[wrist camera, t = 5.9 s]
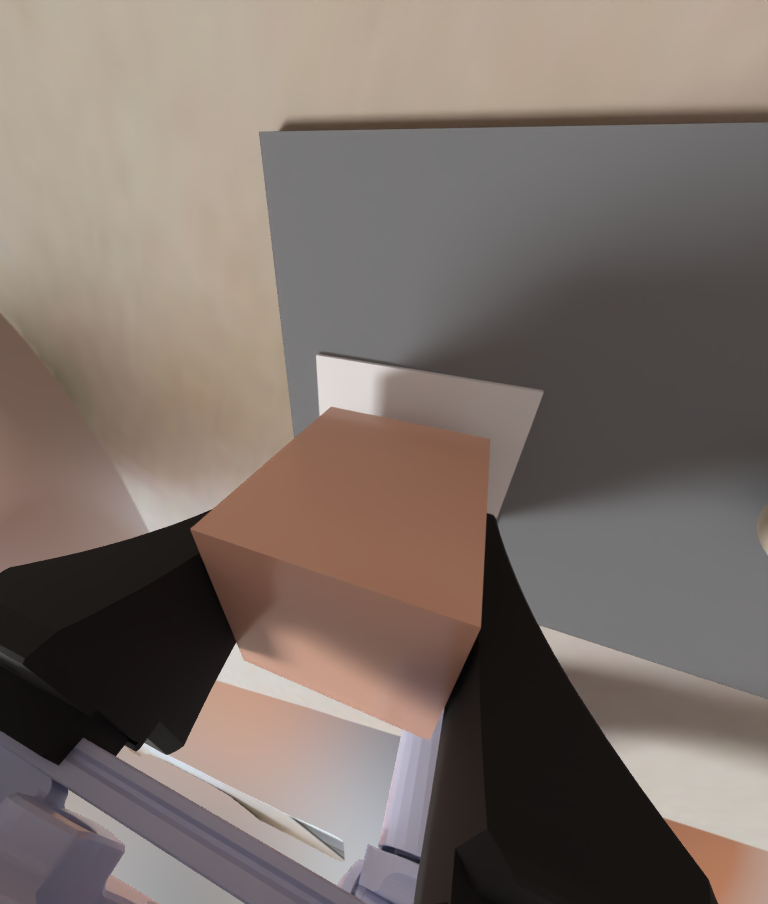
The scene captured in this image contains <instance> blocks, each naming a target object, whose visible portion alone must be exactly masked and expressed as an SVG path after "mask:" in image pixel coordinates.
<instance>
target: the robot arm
mask: <svg viewBox="0 0 768 904" xmlns="http://www.w3.org/2000/svg"><path fill="white" fill-rule="evenodd" d="M212 510H213V509H212ZM210 511H211V510H209V511H207V512H205V513H202V514H200V515H197V516H195V517H192V518H190V519H187V520H184V521H182V522H179V523H177V524H174V525H171V526H168V527H165V528H162V529H159V530H156V531H153V532H150V533H147V534H144V535H141V536H138V537H134V538H132V539H128V540H125V541H121V542H117V543H114V544H110V545H107V546H103V547H99V548H95V549H91V550H88V551H84V552H80V553H75V554H71V555H67V556H62V557H58V558H53V559H48V560H44V561H39V562H34V563H30V564H25V565H20V566H15V567H10V568H8V569H6V570H4V571H2V572H1V573H0V904H159V903H157V902H155V901H154V900H152V899H150V898H149V897H147V896H145V895H144V894H142V893H141V892H139V891H137V890H136V889H134V888H132V887H131V886H129V885H127V884H126V883H124V882H122V881H121V880H119V879H118V878H116V877H114V876H113V875H111V873H112V871H113V870H114V868H115V866H116V865H117V863H118V862H119V860H120V858H121V857H122V855H123V854H124V852H125V845H124V844H123V843H122V842H121V841H120V840H118V839H117V838H116V837H115V836H114V835H113V834H112V833H111V832H110V831H108V830H107V829H105V828H104V827H102V826H100V825H99V824H97V823H95V822H93V821H91V820H89V819H87V818H85V817H82V816H81V815H78V814H76V813H74V812H72V811H69V810H67V809H65V807H64V804H65V800H66V798H67V795H68V789H69V790H70V791H72V792H73V793H75V794H76V795H78V796H79V797H81V798H82V799H84V800H86V801H87V802H89V803H90V804H92V805H93V806H95V807H97V808H98V809H100V810H101V811H103V812H104V813H106V814H107V815H109V816H111V817H112V818H114V819H115V820H117V821H118V822H120V823H121V824H123V825H124V826H126V827H127V828H129V829H130V830H132V831H134V832H135V833H137V834H138V835H140V836H141V837H143V838H145V839H146V840H148V841H149V842H151V843H152V844H154V845H155V846H157V847H158V848H160V849H161V850H163V851H165V852H166V853H168V854H169V855H171V856H172V857H174V858H176V859H177V860H179V861H180V862H182V863H183V864H185V865H186V866H188V867H189V868H191V869H192V870H194V871H195V872H197V873H199V874H200V875H202V876H203V877H205V878H206V879H208V880H209V881H211V882H213V883H214V884H216V885H217V886H219V887H220V888H222V889H223V890H225V891H227V892H228V893H230V894H231V895H233V896H234V897H236V898H237V899H239V900H240V901H242V902H244V903H245V904H718V902H717V900H716V898H715V895H714V893H713V890H712V888H711V885H710V882H709V880H708V878H707V877H706V875H705V874H704V873H703V871H702V870H701V869H700V867H699V866H698V865H697V863H696V862H695V861H694V859H693V858H692V857H691V855H690V854H689V853H688V851H687V850H686V849H685V847H684V846H683V845H682V843H681V842H680V841H679V839H678V838H677V837H676V835H675V834H674V833H673V831H672V830H671V828H670V827H669V826H668V824H667V823H666V822H665V821H664V819H663V818H662V816H661V815H660V814H659V812H658V811H657V809H656V808H655V807H654V805H653V804H652V802H651V801H650V800H649V798H648V797H647V796H646V794H645V793H644V791H643V790H642V789H641V787H640V786H639V785H638V783H637V782H636V780H635V779H634V777H633V776H632V774H631V773H630V772H629V770H628V769H627V767H626V766H625V764H624V763H623V761H622V760H621V759H620V757H619V756H618V754H617V753H616V751H615V750H614V748H613V747H612V746H611V744H610V743H609V741H608V740H607V738H606V737H605V735H604V734H603V732H602V730H601V729H600V727H599V726H598V724H597V723H596V721H595V720H594V718H593V716H592V715H591V713H590V712H589V710H588V709H587V707H586V706H585V704H584V702H583V701H582V699H581V698H580V696H579V695H578V693H577V692H576V690H575V688H574V687H573V685H572V684H571V682H570V680H569V679H568V677H567V675H566V674H565V672H564V670H563V668H562V667H561V665H560V663H559V662H558V660H557V658H556V656H555V655H554V653H553V651H552V649H551V648H550V646H549V644H548V642H547V640H546V638H545V637H544V635H543V633H542V631H541V629H540V627H539V625H538V623H537V621H536V619H535V617H534V615H533V613H532V611H531V609H530V607H529V605H528V603H527V601H526V598H525V596H524V594H523V592H522V590H521V587H520V585H519V583H518V580H517V578H516V575H515V573H514V571H513V568H512V566H511V563H510V561H509V558H508V555H507V553H506V550H505V547H504V544H503V541H502V538H501V535H500V531H499V528H498V524H497V520H496V518H495V516H494V515H492V514H489V513H487V516H486V536H485V556H484V576H483V596H482V616H481V629H480V631H479V633H478V635H477V637H476V640H475V642H474V644H473V646H472V648H471V650H470V653H469V655H468V657H467V659H466V661H465V664H464V666H463V668H462V670H461V672H460V674H459V677H458V679H457V681H456V683H455V685H454V687H453V690H452V692H451V694H450V696H449V698H448V700H447V703H446V705H445V707H444V709H443V711H442V714H441V716H440V718H439V720H438V722H437V724H436V727H435V729H434V731H433V733H432V735H431V737H430V740H429V741H428V740H426V739H424V738H422V737H419V736H417V735H415V734H412V733H410V732H408V731H405V730H403V729H402V734H401V739H400V744H399V749H398V753H397V759H396V763H395V768H394V773H393V777H392V782H391V787H390V792H389V797H388V802H387V806H386V811H385V816H384V822H383V826H382V831H381V836H380V840H379V848H380V849H378V848H375V847H373V846H371V845H367V848H366V853H365V857H364V860H358V861H357V862H355V863H354V864H353V866H352V867H351V868H350V869H349V871H348V872H347V873H346V874H345V875H344V876H343V877H342V879H341V880H340V881H339V883H338V885H337V886H336V885H335V884H333V883H331V882H329V881H328V880H326V879H324V878H323V877H321V876H319V875H317V874H316V873H314V872H312V871H311V870H309V869H307V868H305V867H304V866H302V865H300V864H299V863H297V862H295V861H294V860H292V859H290V858H288V857H287V856H285V855H283V854H281V853H280V852H278V851H276V850H275V849H273V848H271V847H270V846H268V845H266V844H264V843H263V842H261V841H259V840H257V839H256V838H254V837H252V836H251V835H249V834H247V833H246V832H244V831H242V830H240V829H239V828H237V827H235V826H234V825H232V824H230V823H229V822H227V821H225V820H223V819H222V818H220V817H218V816H216V815H215V814H213V813H211V812H210V811H208V810H206V809H204V808H203V807H201V806H199V805H198V804H196V803H194V802H193V801H191V800H189V799H187V798H186V797H184V796H182V795H181V794H179V793H177V792H175V791H174V790H172V789H170V788H169V787H167V786H165V785H163V784H162V783H160V782H158V781H157V780H155V779H153V778H152V777H150V776H148V775H146V774H145V773H143V772H141V771H140V770H138V769H136V768H134V767H133V766H131V765H129V764H128V763H126V762H124V761H122V760H121V759H119V758H117V757H116V755H117V754H118V753H119V751H120V750H121V749H122V748H123V746H124V745H125V746H127V747H129V748H130V749H132V750H134V751H138V750H139V749H140V748H141V746H142V745H143V744H144V743H146V744H148V745H149V746H151V747H153V748H155V749H157V750H158V751H160V752H162V753H164V754H166V755H168V754H171V753H173V752H175V751H177V750H178V749H180V748H181V747H183V746H184V744H185V742H186V740H187V738H188V736H189V734H190V732H191V729H192V727H193V725H194V723H195V721H196V719H197V717H198V715H199V713H200V711H201V709H202V707H203V705H204V703H205V701H206V699H207V697H208V695H209V693H210V691H211V689H212V687H213V685H214V683H215V681H216V679H217V677H218V675H219V673H220V672H221V670H222V668H223V666H224V664H225V662H226V660H227V658H228V656H229V655H230V653H231V651H232V649H233V647H234V646H235V644H236V640H235V637H234V635H233V633H232V630H231V628H230V625H229V623H228V620H227V618H226V616H225V613H224V611H223V608H222V606H221V603H220V601H219V598H218V596H217V594H216V591H215V589H214V586H213V584H212V581H211V579H210V577H209V574H208V572H207V569H206V567H205V564H204V562H203V560H202V557H201V555H200V552H199V550H198V547H197V545H196V543H195V540H194V538H193V535H192V533H191V530H190V529H191V528H192V527H193V526H194V525H195V524H196V523H198V522H199V521H200V520H201V519H202V518H203V517H205V516H206V515H207V514H208V513H209V512H210Z"/></svg>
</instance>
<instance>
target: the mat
mask: <svg viewBox="0 0 768 904" xmlns="http://www.w3.org/2000/svg"><path fill="white" fill-rule="evenodd" d="M259 136H260V145H261V154H262V163H263V171H264V180H265V189H266V197H267V206H268V215H269V223H270V232H271V241H272V249H273V258H274V267H275V275H276V284H277V293H278V301H279V310H280V319H281V327H282V336H283V345H284V354H285V362H286V371H287V380H288V388H289V397H290V406H291V414H292V423H293V432H294V438H295V437H296V436H298V435H299V434H300V433H301V432H302V431H303V430H305V429H306V428H307V427H308V426H309V425H310V424H311V423H313V422H314V421H315V420H316V419H317V418H318V417H319V416H321V415H322V414H323V413H324V412H325V411H326V410H327V409H329V408H330V407H336V408H341V409H346V410H351V411H355V412H360V413H365V414H370V415H375V416H380V417H385V418H390V419H395V420H400V421H405V422H410V423H414V424H419V425H424V426H429V427H434V428H439V429H444V430H449V431H454V432H459V433H464V434H469V435H474V436H478V437H483V438H488V439H490V457H489V477H488V496H487V513H489V514H492V515H494V516H495V518H496V520H497V524H498V528H499V531H500V535H501V538H502V541H503V544H504V547H505V550H506V553H507V555H508V558H509V561H510V563H511V566H512V568H513V571H514V573H515V575H516V578H517V580H518V583H519V585H520V587H521V590H522V592H523V594H524V596H525V598H526V601H527V603H528V605H529V607H530V609H531V611H532V613H533V615H534V617H535V619H536V621H537V623H538V625H540V626H543V627H547V628H550V629H553V630H556V631H559V632H562V633H565V634H568V635H571V636H574V637H577V638H580V639H584V640H587V641H590V642H593V643H596V644H599V645H602V646H605V647H608V648H611V649H614V650H617V651H621V652H624V653H627V654H630V655H633V656H636V657H639V658H642V659H645V660H648V661H651V662H655V663H658V664H661V665H664V666H667V667H670V668H673V669H676V670H679V671H682V672H685V673H688V674H692V675H695V676H698V677H701V678H704V679H707V680H710V681H713V682H716V683H719V684H722V685H725V686H729V687H732V688H735V689H738V690H741V691H744V692H747V693H750V694H753V695H756V696H759V697H763V698H766V699H768V555H767V554H766V552H765V551H764V549H763V547H762V545H761V543H760V541H759V538H758V534H757V521H758V517H759V515H760V512H761V510H762V508H763V507H764V506H765V505H766V503H767V502H768V122H760V123H706V124H651V125H597V126H543V127H488V128H434V129H380V130H326V131H271V132H259Z"/></svg>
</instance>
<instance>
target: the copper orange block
mask: <svg viewBox="0 0 768 904" xmlns="http://www.w3.org/2000/svg"><path fill="white" fill-rule="evenodd" d="M489 457H490V439H488V438H483V437H478V436H474V435H469V434H464V433H459V432H454V431H449V430H444V429H439V428H434V427H429V426H424V425H419V424H414V423H410V422H405V421H400V420H395V419H390V418H385V417H380V416H375V415H370V414H365V413H360V412H355V411H351V410H346V409H341V408H336V407H330V408H329V409H327V410H326V411H325V412H324V413H323V414H322V415H321V416H319V417H318V418H317V419H316V420H315V421H314V422H313V423H311V424H310V425H309V426H308V427H307V428H306V429H305V430H303V431H302V432H301V433H300V434H299V435H298V436H296V437H295V438H294V439H293V440H292V441H291V442H290V443H288V444H287V445H286V446H285V447H284V448H283V449H282V450H280V451H279V452H278V453H277V454H276V455H275V456H273V457H272V458H271V459H270V460H269V461H268V462H267V463H265V464H264V465H263V466H262V467H261V468H260V469H259V470H257V471H256V472H255V473H254V474H253V475H252V476H251V477H249V478H248V479H247V480H246V481H245V482H244V483H242V484H241V485H240V486H239V487H238V488H237V489H236V490H234V491H233V492H232V493H231V494H230V495H229V496H228V497H226V498H225V499H224V500H223V501H222V502H221V503H219V504H218V505H217V506H216V507H215V508H214V509H213V510H211V511H210V512H209V513H208V514H207V515H206V516H205V517H203V518H202V519H201V520H200V521H199V522H198V523H196V524H195V525H194V526H193V527H192V528H191V529H190V530H191V533H192V535H193V538H194V540H195V543H196V545H197V547H198V550H199V552H200V555H201V557H202V560H203V562H204V564H205V567H206V569H207V572H208V574H209V577H210V579H211V581H212V584H213V586H214V589H215V591H216V594H217V596H218V598H219V601H220V603H221V606H222V608H223V611H224V613H225V616H226V618H227V620H228V623H229V625H230V628H231V630H232V633H233V635H234V637H235V640H236V642H237V645H238V647H239V650H240V652H241V654H242V657H243V659H244V660H245V661H247V662H249V663H252V664H254V665H256V666H259V667H261V668H263V669H266V670H268V671H270V672H272V673H275V674H277V675H279V676H282V677H284V678H286V679H288V680H291V681H293V682H295V683H298V684H300V685H302V686H305V687H307V688H309V689H311V690H314V691H316V692H318V693H321V694H323V695H325V696H327V697H330V698H332V699H334V700H337V701H339V702H341V703H344V704H346V705H348V706H350V707H353V708H355V709H357V710H360V711H362V712H364V713H366V714H369V715H371V716H373V717H376V718H378V719H380V720H383V721H385V722H387V723H389V724H392V725H394V726H396V727H399V728H401V729H403V730H405V731H408V732H410V733H412V734H415V735H417V736H419V737H422V738H424V739H426V740H428V741H429V740H430V737H431V735H432V733H433V731H434V729H435V727H436V724H437V722H438V720H439V718H440V716H441V714H442V711H443V709H444V707H445V705H446V703H447V700H448V698H449V696H450V694H451V692H452V690H453V687H454V685H455V683H456V681H457V679H458V677H459V674H460V672H461V670H462V668H463V666H464V664H465V661H466V659H467V657H468V655H469V653H470V650H471V648H472V646H473V644H474V642H475V640H476V637H477V635H478V633H479V631H480V629H481V616H482V596H483V576H484V556H485V536H486V516H487V496H488V477H489Z"/></svg>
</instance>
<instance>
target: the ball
mask: <svg viewBox="0 0 768 904" xmlns="http://www.w3.org/2000/svg"><path fill="white" fill-rule="evenodd" d="M757 534H758V538H759V541H760V543H761V545H762V547H763V549H764V551H765V552H766V554H767V555H768V502H767V503H766V505H765V506H764V507H763V508H762V510H761V512H760V515H759V517H758V521H757Z"/></svg>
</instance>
